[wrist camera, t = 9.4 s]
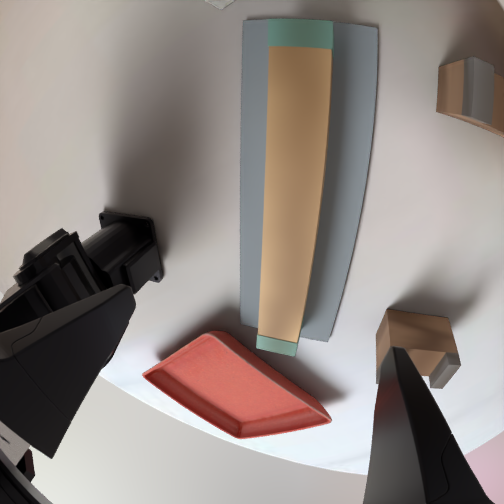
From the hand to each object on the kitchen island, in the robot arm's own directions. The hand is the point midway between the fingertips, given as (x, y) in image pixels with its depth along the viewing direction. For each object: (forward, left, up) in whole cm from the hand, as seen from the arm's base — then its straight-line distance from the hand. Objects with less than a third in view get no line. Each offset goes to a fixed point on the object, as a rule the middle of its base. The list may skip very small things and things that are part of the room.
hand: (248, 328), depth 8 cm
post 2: (+11, +9, -12) cm, 18 cm away
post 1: (+11, -9, -12) cm, 18 cm away
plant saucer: (-5, -24, -12) cm, 27 cm away
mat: (0, 0, -12) cm, 12 cm away
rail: (0, 0, -11) cm, 11 cm away
